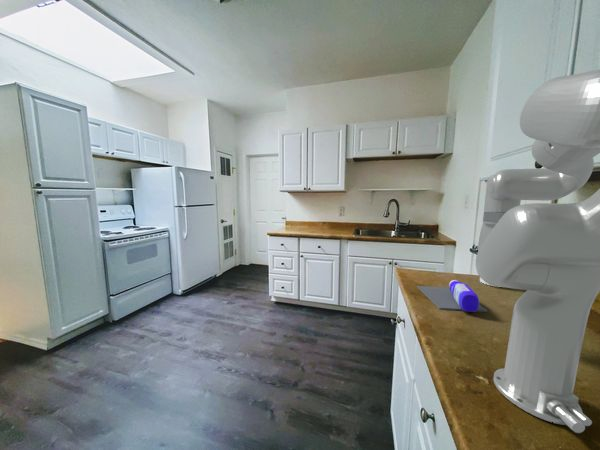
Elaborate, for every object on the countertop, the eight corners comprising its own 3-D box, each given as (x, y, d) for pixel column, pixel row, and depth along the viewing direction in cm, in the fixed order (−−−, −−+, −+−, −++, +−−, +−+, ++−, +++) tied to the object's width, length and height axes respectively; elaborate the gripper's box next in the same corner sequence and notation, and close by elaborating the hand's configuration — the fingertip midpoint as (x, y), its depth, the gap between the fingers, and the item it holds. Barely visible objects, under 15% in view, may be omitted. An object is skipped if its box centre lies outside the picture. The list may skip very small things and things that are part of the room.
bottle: (460, 313, 80) (446, 292, 96) (480, 314, 78) (462, 293, 95) (460, 292, 79) (446, 275, 95) (480, 294, 77) (463, 276, 94)
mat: (487, 312, 81) (487, 310, 81) (439, 309, 83) (439, 307, 83) (455, 289, 101) (455, 287, 101) (416, 287, 103) (417, 285, 103)
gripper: (539, 221, 58) (530, 293, 59) (494, 218, 72) (488, 275, 74) (506, 220, 58) (498, 291, 60) (469, 217, 73) (463, 274, 75)
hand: (493, 282), depth 67 cm, fingers closed
